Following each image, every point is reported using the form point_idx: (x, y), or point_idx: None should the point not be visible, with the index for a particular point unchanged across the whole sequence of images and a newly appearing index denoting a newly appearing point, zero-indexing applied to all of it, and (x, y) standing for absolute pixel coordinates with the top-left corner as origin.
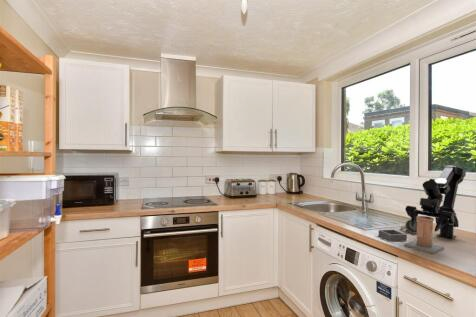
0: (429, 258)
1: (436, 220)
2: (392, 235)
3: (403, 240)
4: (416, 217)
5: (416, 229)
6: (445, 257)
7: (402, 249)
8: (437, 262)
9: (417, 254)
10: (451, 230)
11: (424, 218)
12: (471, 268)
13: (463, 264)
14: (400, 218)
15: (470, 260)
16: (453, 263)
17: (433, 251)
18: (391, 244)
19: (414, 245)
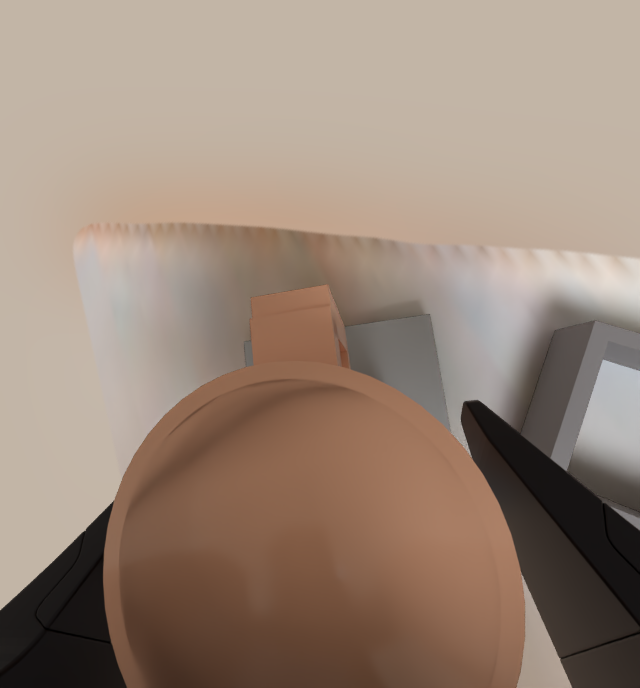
0: (233, 246)
1: None
2: (585, 340)
3: None
4: (468, 460)
5: None
6: (197, 347)
7: (389, 240)
8: (189, 229)
9: (295, 244)
10: None
11: (246, 438)
12: (83, 304)
13: (116, 325)
14: None
15: (113, 427)
16: (144, 292)
17: (250, 343)
18: (491, 263)
19: (374, 350)
